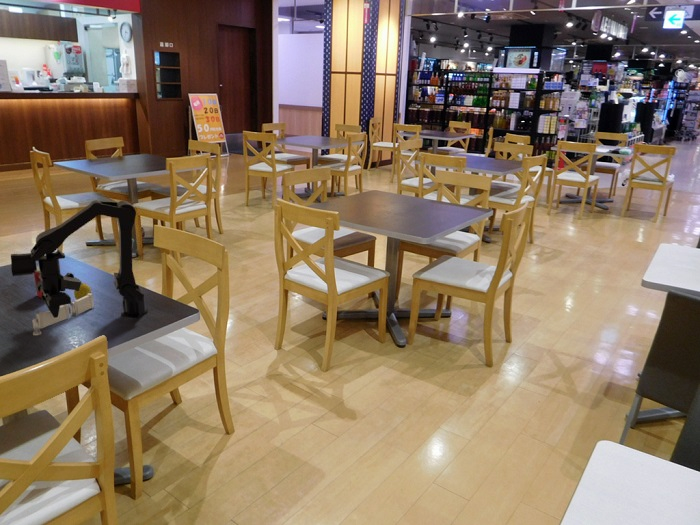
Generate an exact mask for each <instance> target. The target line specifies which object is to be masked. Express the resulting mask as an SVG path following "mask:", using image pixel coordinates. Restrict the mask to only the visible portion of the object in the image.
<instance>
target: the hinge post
mask: <svg viewBox="0 0 700 525" xmlns="http://www.w3.org/2000/svg"><path fill="white" fill-rule="evenodd" d="M69 311H70V316H71V318H76V317H77V313H76V308H75V302H74V301H71V303H70V304H69Z"/></svg>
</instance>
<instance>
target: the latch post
mask: <svg viewBox="0 0 700 525" xmlns="http://www.w3.org/2000/svg"><path fill="white" fill-rule="evenodd" d="M32 327H33V332H32V335H33V336H36V337H37V336H40V335H42V334H43V333H42V331H41V329H40V328H39V321H38V319H37V318H33V319H32Z"/></svg>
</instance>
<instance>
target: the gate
mask: <svg viewBox="0 0 700 525" xmlns="http://www.w3.org/2000/svg"><path fill="white" fill-rule="evenodd" d="M69 311H70V307H69V304H66V305H62V306H60V308H59V314H58V317H56V318H54V317H53V315H52V314H51V312H50V310H49V309H48V310H46V311H43V312H37V313H36V314H35V315H36V319H38V321H39V328H40V330H41V329H42V330H43V329H44V328H46V327H47V326H50V325H51V326H52V325H54V324H56V323H59V322H61V321H64V320H66V319H69V318H70V316H71V315H70V312H69Z"/></svg>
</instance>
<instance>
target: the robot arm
mask: <svg viewBox="0 0 700 525" xmlns="http://www.w3.org/2000/svg"><path fill="white" fill-rule="evenodd" d="M136 215H137V210H136V208H135V207H134V206H133V205H132V203H130V202H129V201H127V200H120V201H106V200H105V201H104V200H103V201H102V200H93V201H91V202H90V203H89V204H88V205H87V206H85V207H84V208H83V209H81V210H79V211H78V212H76V213H75V214H73V215H72V216H71V217H70V218H68V219H66V220H65V221H64V222H62V223H60V224H59V225H57V226H54V227H51V228H49V229H46V230H45V231H42V232H40V233H39V234H38V235H37V236H36V239H35V244H34V245H33V247H32V249H30V252H29V253H12V254H10V261H11V263H10V264H11V266H10V268H11V269H10V270H11V275H12V277H20V276H28V275H29V276H30V275H34V273H35V271H37V266H38V265H39V270H40V275H39V278H40V279H41V281H40V282H38V283H37V284H36V283H35V291H36V293H37V292H40V289H41V291H42V292H43V294H44V295H43V296H41V298H40V299H42V301H43V303H44V304H45V306H46V307H47V309H48V310H50V312H51V314H52V315H53V317H54V318H56V317H58V314H59V308H60V306H61V305H66V304H68V305H70V303H71V302H72V298H71V296H70V295H69V294H68V293H67V292H66V290H72V291H74V290H75V291H79V289H80V286H81V283H82V280H81V279H79V278H77V277H75V276H74V274H73V273H72V272H66V274H65V275H63V274H62V273H61V267H60V259H65V258H66V255H65V253H64V252H62V251H60V249H59V248H60V247H61V246H62V245H63V244H64V242H65V241H66V240H67V238H69V236H71V235H73V234H74V233H75V232H77V231H78V230H80V229H81V228H82V227H84V226H85V225H86V224H88V223H89V222H91V221H93V220H94V219H95V218H96V217H98V216H105V217H109V218H113V219H114V218H115V219H116V224H117V226H118V239H119V240H118V247H119V249H118V250H119V252H118V254H119V269H118V272H113V275H114V281H113V285H114V287H115V289H116V290H117V291H118V293H119V295H120V296H122V309H123V312H122V313H121V316H123V317H129V318H133V319H137V318H139V317H141V316H143V315H144V314H146V313H148V312H149V310H148V309H146V308H145V294H144V292H143V290H142V288H141V287H140V285H138V284H136V279H135V276H134V271H133V228H134V225H135V222H136ZM37 263H38V265H37Z"/></svg>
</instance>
